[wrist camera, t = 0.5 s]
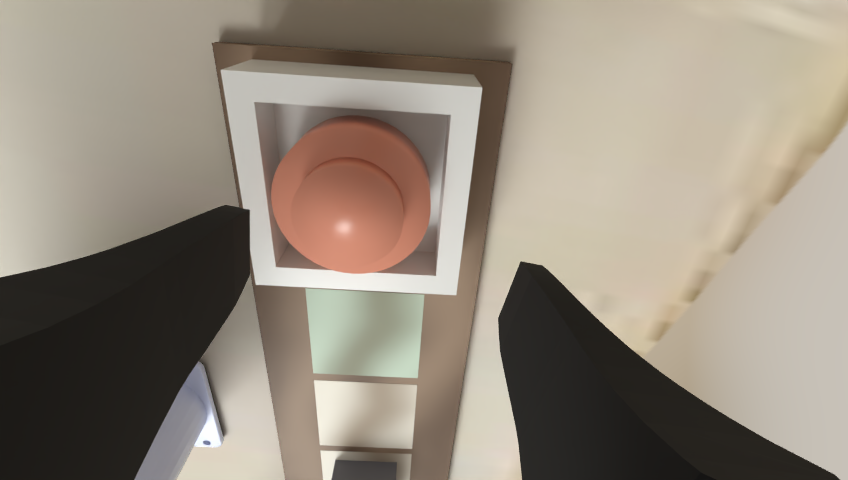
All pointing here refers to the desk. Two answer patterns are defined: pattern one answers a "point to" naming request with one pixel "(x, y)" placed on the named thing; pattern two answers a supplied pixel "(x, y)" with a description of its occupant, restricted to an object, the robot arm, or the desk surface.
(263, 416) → the desk surface
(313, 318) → the game board
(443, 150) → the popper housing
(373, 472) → the pawn
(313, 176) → the dome
